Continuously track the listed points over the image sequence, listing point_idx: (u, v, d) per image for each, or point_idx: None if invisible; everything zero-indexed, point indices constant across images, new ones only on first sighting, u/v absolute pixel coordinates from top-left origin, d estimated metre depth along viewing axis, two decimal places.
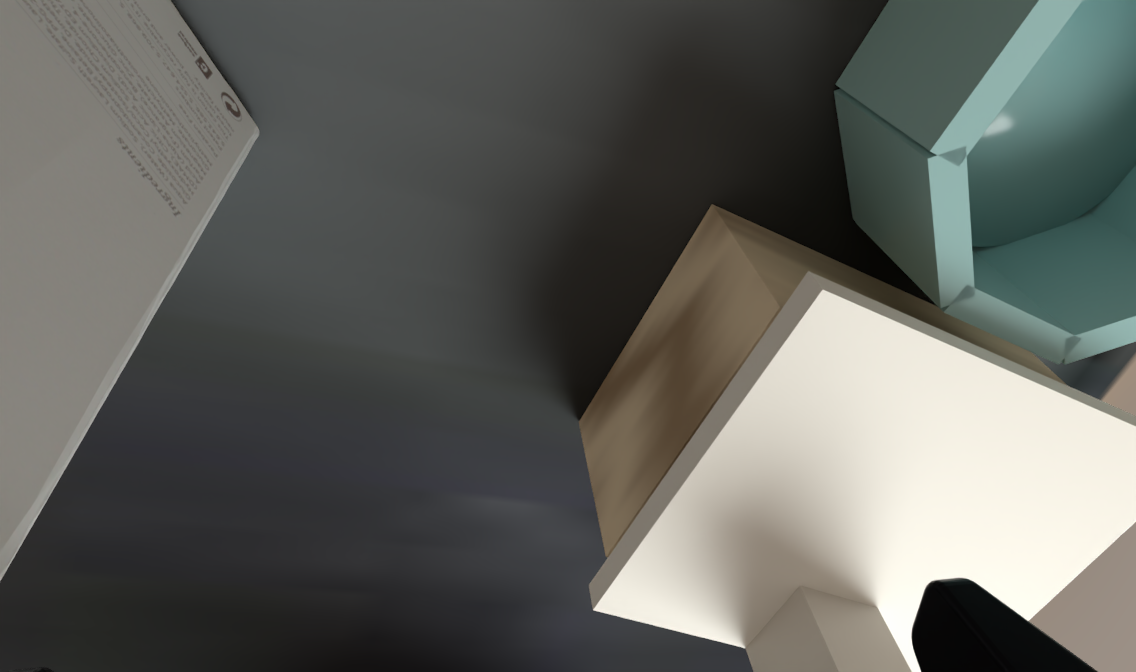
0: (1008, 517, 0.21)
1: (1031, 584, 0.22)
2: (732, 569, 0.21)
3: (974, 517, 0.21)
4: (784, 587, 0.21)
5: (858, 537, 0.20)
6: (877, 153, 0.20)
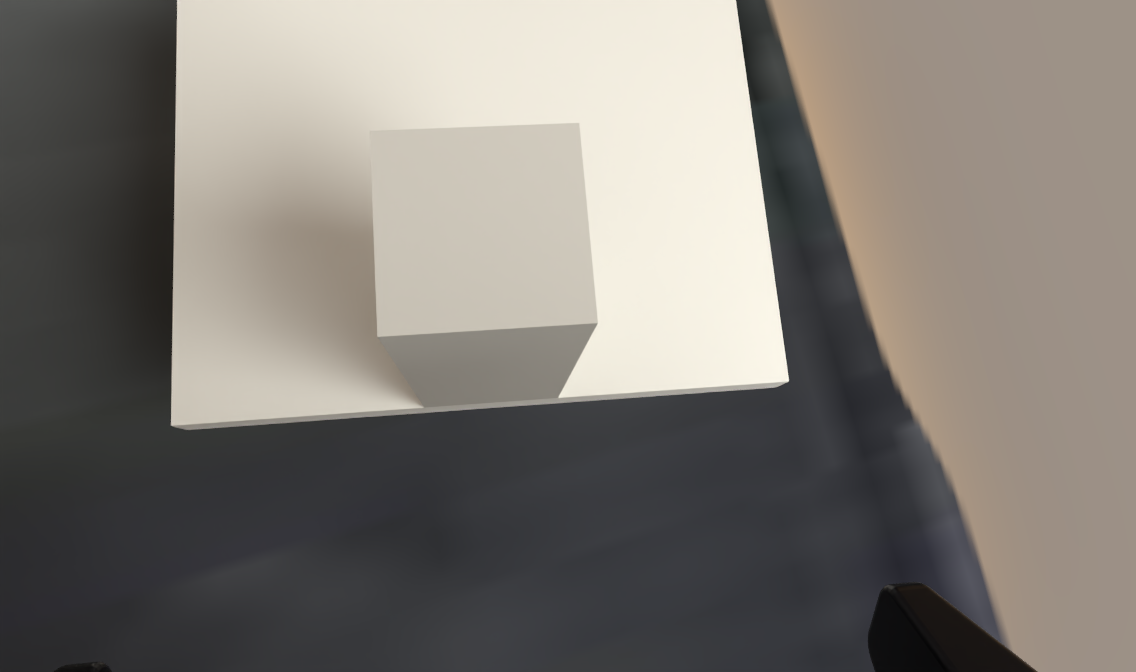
0: (589, 92, 0.18)
1: (710, 161, 0.18)
2: (314, 290, 0.16)
3: (548, 107, 0.18)
4: None
5: None
6: None
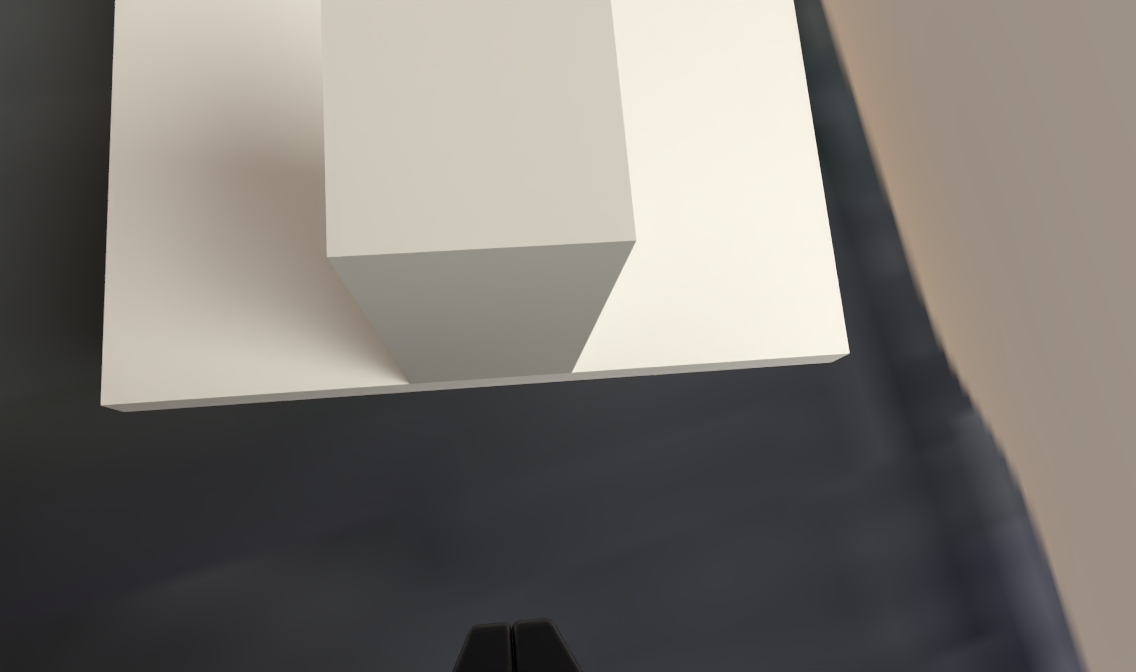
0: None
1: (751, 94, 0.15)
2: (277, 242, 0.13)
3: None
4: None
5: None
6: None
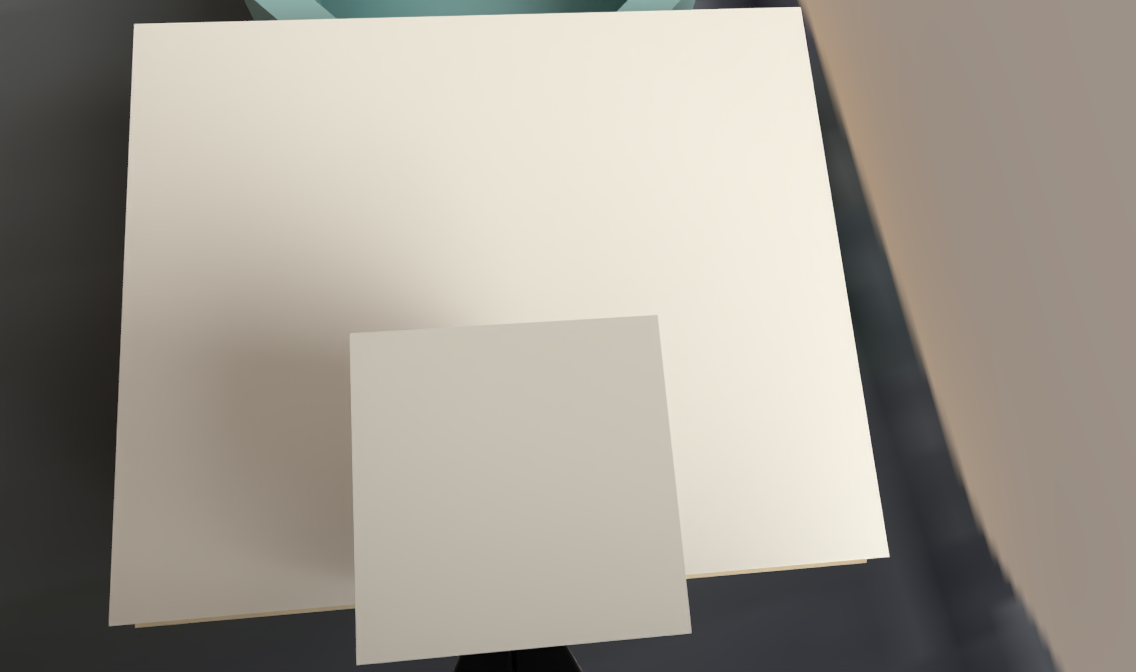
0: (634, 188, 0.14)
1: (784, 273, 0.14)
2: (293, 444, 0.13)
3: (584, 207, 0.14)
4: None
5: (444, 307, 0.14)
6: None
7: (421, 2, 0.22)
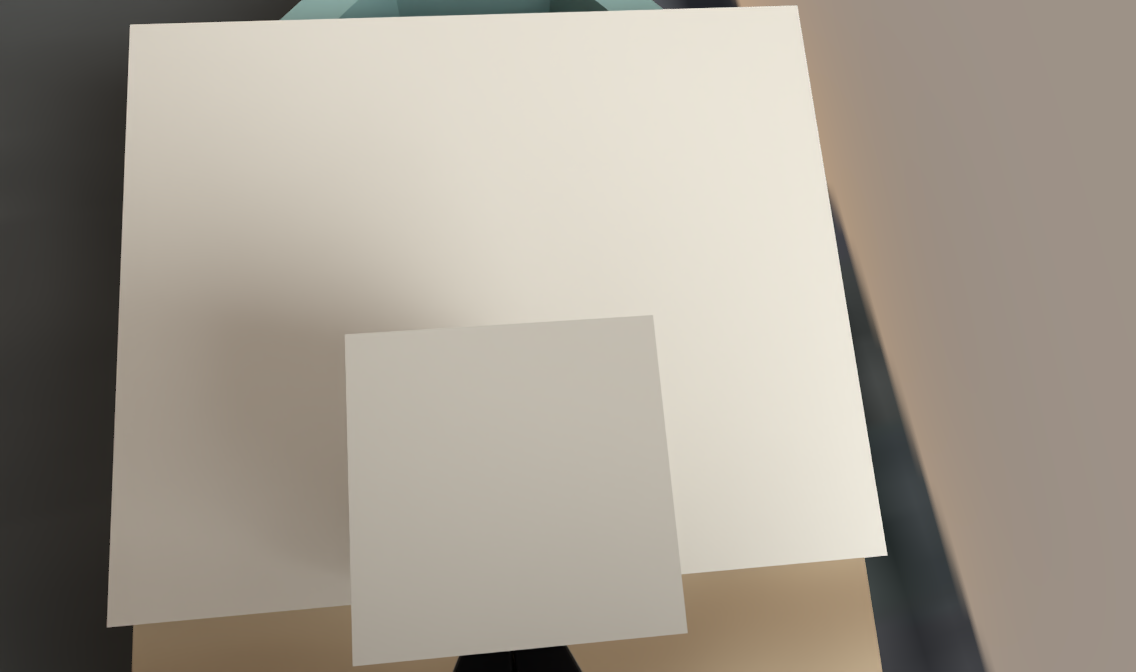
0: (631, 187, 0.14)
1: (782, 272, 0.14)
2: (290, 444, 0.13)
3: (581, 207, 0.14)
4: None
5: (442, 307, 0.14)
6: None
7: None
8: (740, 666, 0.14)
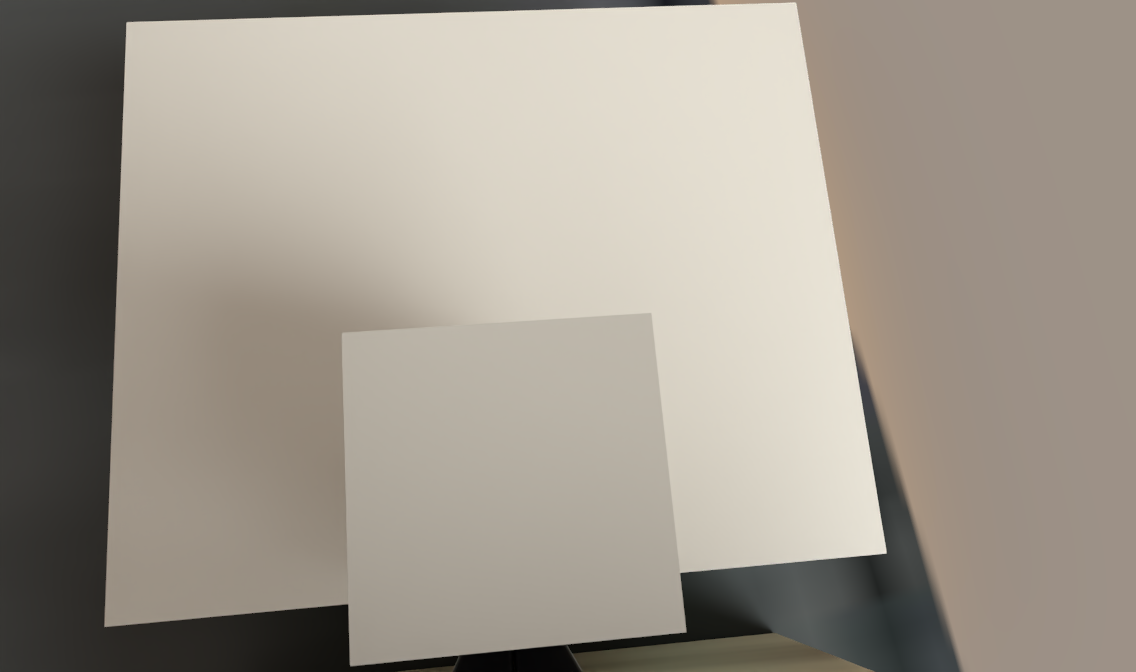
0: (629, 185, 0.14)
1: (781, 270, 0.14)
2: (288, 444, 0.13)
3: (580, 205, 0.14)
4: None
5: (440, 305, 0.14)
6: None
7: None
8: None
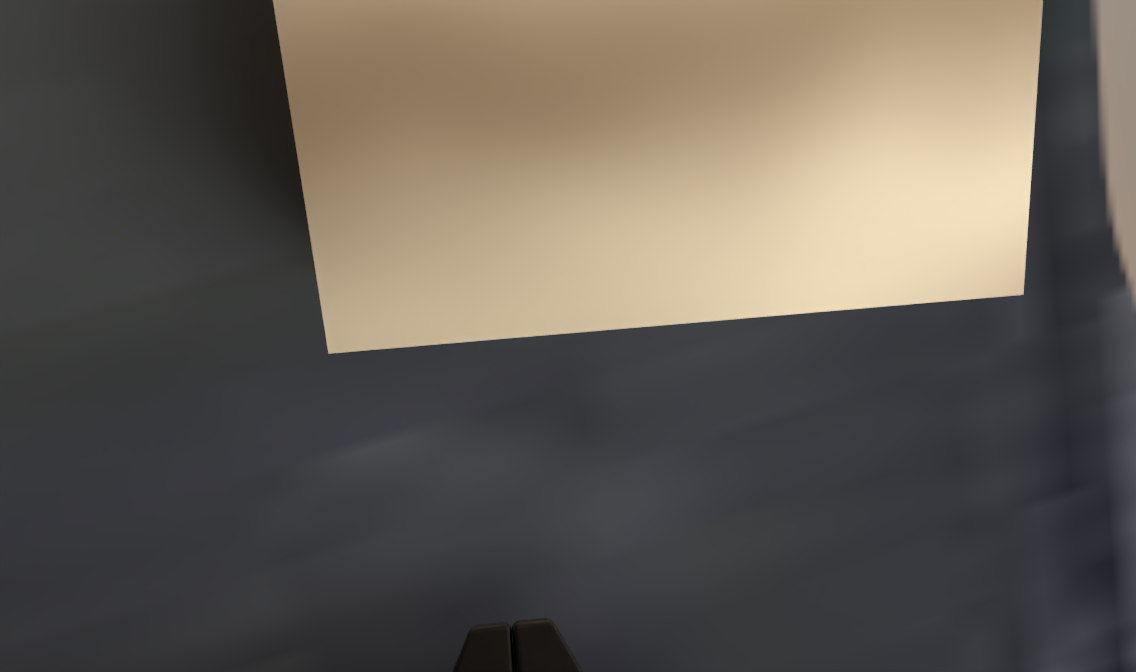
0: None
1: None
2: None
3: None
4: None
5: None
6: None
7: None
8: (894, 42, 0.13)
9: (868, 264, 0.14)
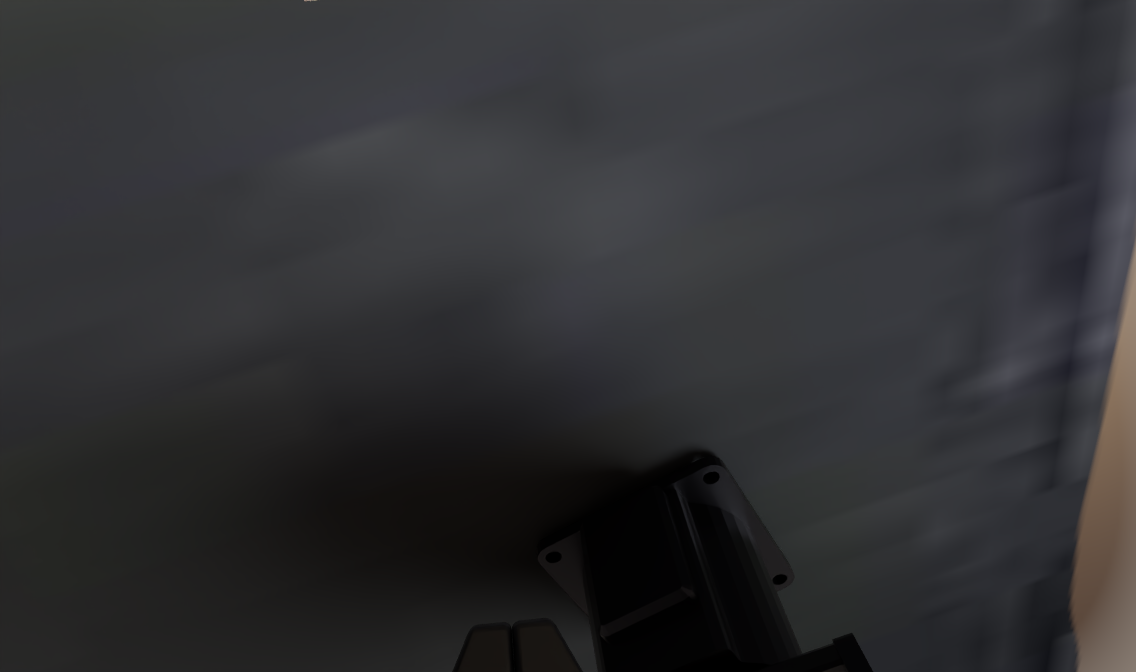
0: None
1: None
2: None
3: None
4: None
5: None
6: None
7: None
8: None
9: None
